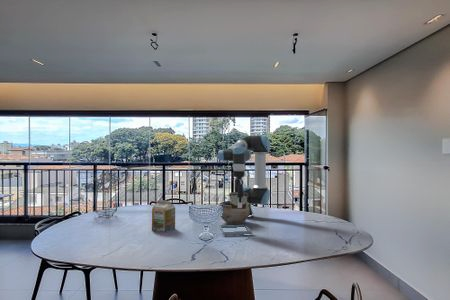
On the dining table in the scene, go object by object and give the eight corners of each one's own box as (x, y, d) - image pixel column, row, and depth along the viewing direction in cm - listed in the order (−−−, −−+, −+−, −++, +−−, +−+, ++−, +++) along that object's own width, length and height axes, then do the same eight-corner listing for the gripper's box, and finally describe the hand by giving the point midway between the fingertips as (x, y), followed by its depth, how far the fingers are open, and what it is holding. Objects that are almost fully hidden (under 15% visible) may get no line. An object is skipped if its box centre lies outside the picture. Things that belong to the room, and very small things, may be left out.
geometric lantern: (90, 217, 224) (91, 172, 226) (104, 214, 239) (105, 171, 241) (107, 219, 219) (108, 172, 221) (121, 215, 234) (122, 171, 236)
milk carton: (151, 230, 187) (152, 201, 188) (162, 227, 197) (162, 198, 197) (164, 232, 182) (165, 202, 183) (175, 229, 192) (175, 200, 192)
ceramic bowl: (250, 227, 198) (250, 205, 199) (218, 226, 199) (218, 204, 199) (248, 220, 220) (248, 200, 221) (219, 219, 221) (219, 200, 221)
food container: (248, 207, 189) (248, 192, 189) (248, 209, 182) (248, 193, 183) (229, 207, 190) (229, 191, 190) (228, 208, 183) (228, 192, 184)
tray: (219, 229, 193) (219, 225, 193) (245, 228, 195) (245, 224, 195) (223, 236, 175) (223, 232, 175) (251, 235, 178) (251, 231, 178)
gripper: (230, 169, 195) (229, 204, 195) (236, 171, 176) (235, 209, 176) (241, 169, 197) (240, 204, 196) (248, 171, 177) (248, 209, 177)
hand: (238, 206), depth 186 cm, fingers closed on food container, 7 cm apart
